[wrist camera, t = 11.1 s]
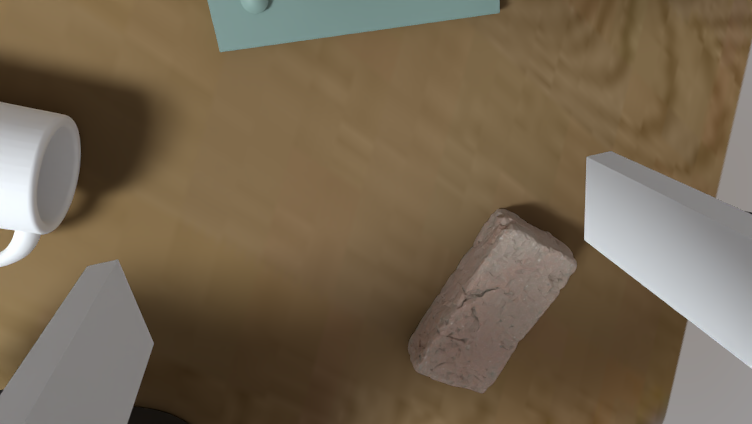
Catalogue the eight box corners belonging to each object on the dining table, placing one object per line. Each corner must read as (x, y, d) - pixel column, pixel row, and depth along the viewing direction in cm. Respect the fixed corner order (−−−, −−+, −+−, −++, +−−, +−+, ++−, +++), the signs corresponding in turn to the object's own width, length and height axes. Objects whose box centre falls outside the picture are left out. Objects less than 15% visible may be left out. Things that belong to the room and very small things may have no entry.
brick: (493, 203, 44) (515, 226, 40) (562, 238, 47) (589, 263, 43) (400, 341, 49) (411, 375, 45) (467, 365, 52) (484, 399, 48)
